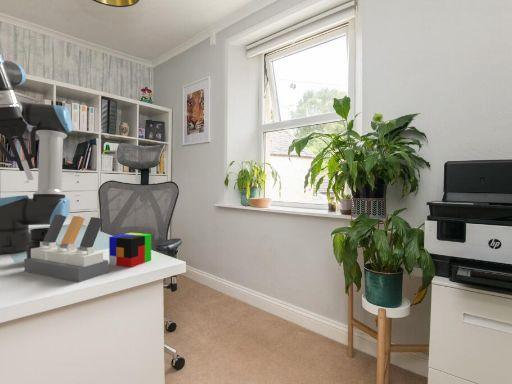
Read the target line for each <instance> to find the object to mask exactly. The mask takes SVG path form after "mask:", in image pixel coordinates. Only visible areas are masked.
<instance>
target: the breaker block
mask: <svg viewBox="0 0 512 384" xmlns="http://www.w3.org/2000/svg"><path fill="white" fill-rule="evenodd" d="M65 219H66V217H65V216H63V215H55V216H54V218H53V220H52V222H51V225H49V227H48V228H49V229H48V231H47V233H46V236H45V238H44V240H43V242H40V247H38V248H33V249H31V258H27V257H26V258H24V259H23V261H24V264H23V265H24V269H23V270H24V272H28V273H33V274H37V275H41V276H47V277H51V278H55V279H62V280H67V281H71V282H76V283H80V282H84V281H86V280H91V279H93V278H96V277H99V276H102V275H105V274H107V273H109V260H108V259H104V252H103V251H96V250H95V247H94V245H95V242H96V239H97V238H98V234H99V232H100V229H101V227H102V223H103V221H104V219H103V218H100V217H94V216H93V217H92V216H91V217H90V218H89V219H90V220H89V222H88V224H87V227H86V230H85V231H84V234H83V236H82V239H81V241H80V244H79V245H78V246H75V243H74V244H73V245H68V246H67V249H65V248H61V247H60V245H61V244H62V243H58V244H57V246H56V243H57V242H56V241H57V239H58V237H59V235H60V233H61V230H62V228H63V226H64V223H65V222H66V221H65ZM66 220H67V219H66ZM64 221H65V222H64Z"/></svg>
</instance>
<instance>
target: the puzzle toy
mask: <svg viewBox="0 0 512 384" xmlns="http://www.w3.org/2000/svg"><path fill="white" fill-rule="evenodd" d="M108 237H109V238H108V244H109V245H108V247H109V249H108V252H109V253H108V254H109V255H108V257H109V258H108V259H109V260H108V266H109V265H110V266H118V267H125V268H134V267H137V266H140V265H143V264H146V263H148V262H151V261H152V234H150V233H139V232H127V233H126V232H125V233H122V234H118V235H113V236H108Z"/></svg>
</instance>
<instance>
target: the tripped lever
mask: <svg viewBox="0 0 512 384" xmlns="http://www.w3.org/2000/svg"><path fill="white" fill-rule="evenodd" d="M85 220H86V219H85V218H84V217H82V216H77V215H73V216H72V218H71V220H70V222H69V224H68V226H67V228H66V231H65V233H64V235H63V237H62V240H61V242H60V244H61V245H60V247H61V248H65V249H67V246H68V245H73V244H74V245H75V242H76V240H77V237H78V235H79V232H80V231H81V229H82V226H83V223H85V222H84V221H85Z"/></svg>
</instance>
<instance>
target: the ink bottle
mask: <svg viewBox="0 0 512 384" xmlns="http://www.w3.org/2000/svg"><path fill="white" fill-rule="evenodd" d="M48 229H49V227H42V228H41V227H40V228H32V229H30V230H29V233H30V238H31V239H30V240H31V242H30V243H29V244H28V245H27V247H26V251H25V252H26V259H27V258H31V249H33V248H38V247H40V242H43V240H44V238H45V236H46V233H47V231H48ZM56 246H58V244H57V242H56Z"/></svg>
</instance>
